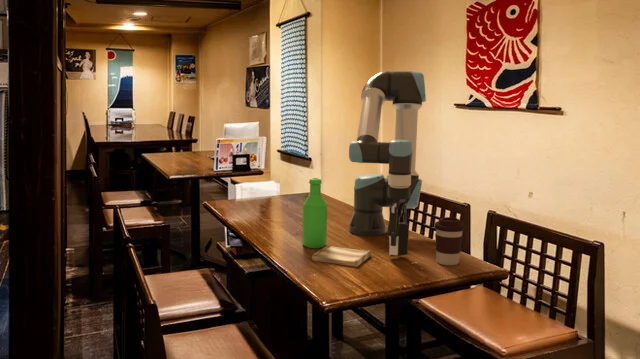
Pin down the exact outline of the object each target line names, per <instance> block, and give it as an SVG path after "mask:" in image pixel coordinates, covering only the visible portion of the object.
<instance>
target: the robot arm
mask: <svg viewBox="0 0 640 359" xmlns="http://www.w3.org/2000/svg"><path fill="white" fill-rule="evenodd" d="M425 85H426V84H425V76H424V74H423V73H422V72H420V71H411V70H410V71H385V70H384V71H380V72H378V73H376V74H375V75H373V76H372V77H371V78H369V80H367V81H366V83H365V84H364V86H363V88H362V90H361V95H360V99H361V102H362V104H361V111H360V117H359V124H358V130H357V137H356V140H355V141H350V143H349V146H348V158H349V161H350V162H352V163H359V164H385V165H387V164H388V175H387V176H386V177H385V176H384V174H383V173H368V174H363V175H362V174H361V175H359V176H357V177H356V178H354V187H353V190H354V191H353V192H354V193H353V195H354V196H353V212H352V216H351V219H350V222H349V225H348V231H349V233H351V234H354V235H359V236H365V237H366V236H369V237H371V236H372V237H373V236H382V235H384V234H387V231H388V236H390V255H398V237H399V236H398V228H399V222H404V223H407V215H408V214H407V211H408V209H416V208H417V207H418V206H419V201H420V195H421V191H422V183H423V180H422V179H421V178H420V177H419V176H420V174H419V173H418V172H417V171H416V162H417V161H416V160H417V158H416V157H417V141H418V140H417V139H418V137H417V136H418V117H419V116H418V113H419V110H420V109H421V108H422V107H423V103H425V102H426V101H427V96H426V86H425ZM386 101H387V102H392V107H393V108H394V109H395V122H394V123H395V127H394V131H395V132H394V139H392V140H391V141H390V142H387V141H386V142H385V141H384V142H383V141H382V142H381V141H378V140H379V131H380V125H381V116H382V108H383V105H384V104H385V102H386ZM384 208H388V210H389V216H388V218H389V219H388V225H389V230H388V229H387V224H386V220H385V217H384V213H383V210H384Z"/></svg>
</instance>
